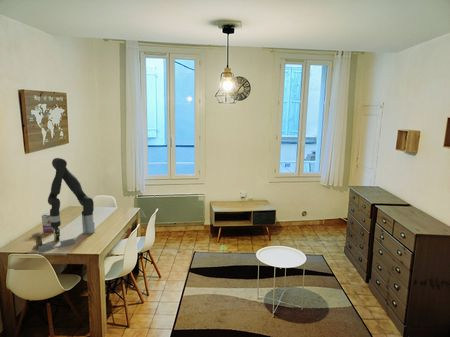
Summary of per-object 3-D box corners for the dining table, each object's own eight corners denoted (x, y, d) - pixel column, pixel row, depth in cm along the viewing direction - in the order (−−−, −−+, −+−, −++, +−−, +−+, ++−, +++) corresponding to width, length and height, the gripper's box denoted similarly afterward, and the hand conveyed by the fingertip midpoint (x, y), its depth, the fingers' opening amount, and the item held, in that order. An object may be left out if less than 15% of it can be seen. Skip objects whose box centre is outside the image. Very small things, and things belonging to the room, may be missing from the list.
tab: (59, 239, 275) (58, 230, 274) (60, 241, 272) (59, 232, 271) (53, 241, 272) (53, 232, 271) (55, 242, 269) (54, 233, 268)
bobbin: (44, 244, 266) (43, 231, 264) (47, 247, 259) (45, 234, 257) (32, 246, 260) (30, 234, 258) (34, 250, 253) (33, 237, 251)
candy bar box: (58, 230, 296) (56, 213, 293) (56, 232, 292) (54, 214, 289) (45, 230, 295) (43, 213, 292) (43, 232, 290) (41, 215, 287)
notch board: (73, 242, 270) (73, 238, 269) (74, 243, 268) (74, 239, 267) (38, 251, 253) (38, 246, 252) (39, 251, 252) (38, 247, 251)
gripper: (62, 221, 266) (63, 240, 269) (58, 217, 277) (59, 235, 280) (52, 223, 261) (53, 243, 264) (48, 219, 272) (49, 237, 275)
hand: (56, 239), depth 272 cm, fingers open, 6 cm apart
